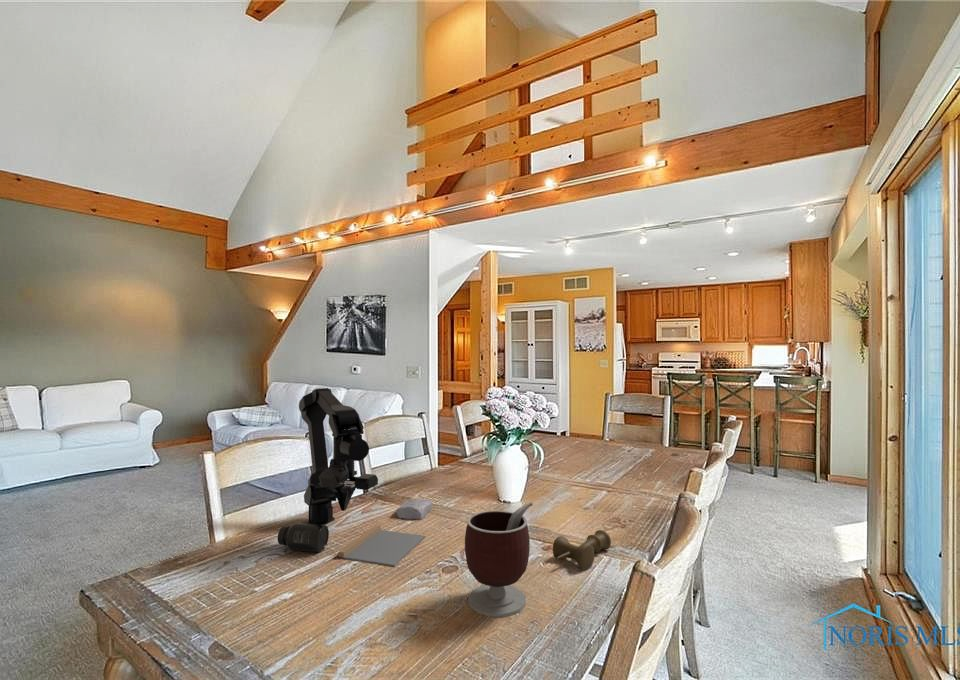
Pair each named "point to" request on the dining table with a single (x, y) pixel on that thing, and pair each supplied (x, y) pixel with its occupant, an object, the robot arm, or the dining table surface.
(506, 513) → the mate gourd
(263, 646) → the dining table surface
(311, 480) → the robot arm
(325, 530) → the supplement bottle
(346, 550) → the mat
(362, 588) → the dining table surface
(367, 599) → the dining table surface
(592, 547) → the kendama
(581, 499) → the dining table surface
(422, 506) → the stone block
